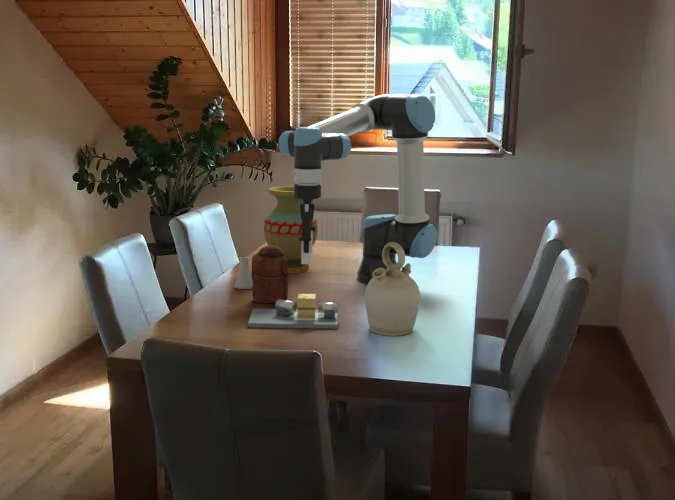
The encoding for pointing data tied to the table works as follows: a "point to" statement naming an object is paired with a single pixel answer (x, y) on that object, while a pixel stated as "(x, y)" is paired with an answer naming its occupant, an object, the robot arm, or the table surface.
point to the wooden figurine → (269, 275)
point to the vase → (287, 227)
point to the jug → (392, 296)
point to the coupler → (306, 306)
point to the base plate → (289, 320)
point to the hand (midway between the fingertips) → (307, 258)
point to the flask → (244, 275)
